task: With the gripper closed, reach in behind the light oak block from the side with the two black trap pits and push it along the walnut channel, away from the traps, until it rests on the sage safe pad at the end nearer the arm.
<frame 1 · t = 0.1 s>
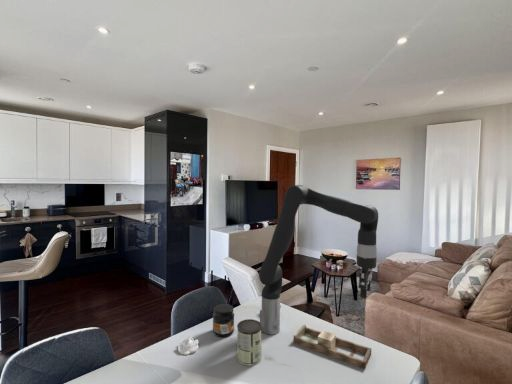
hand: (365, 294, 112), 29 cm above the table, tool pointing down, fingers open, 8 cm apart
coffee can: (249, 358, 116), on the table
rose: (188, 349, 122), on the table
die: (272, 313, 156), on the table
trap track: (330, 351, 121), on the table
oak block: (326, 346, 122), point 1 cm above the table, touching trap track
supplement container: (223, 332, 136), on the table
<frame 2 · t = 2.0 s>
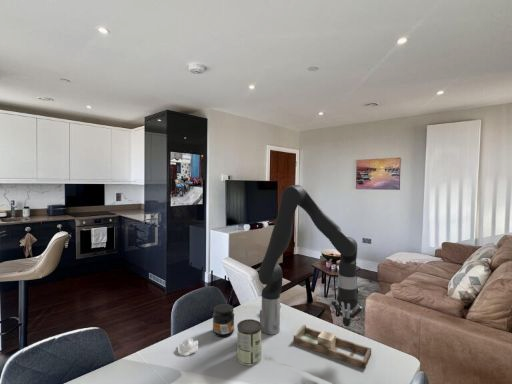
hand: (346, 325, 117), 14 cm above the table, tool pointing down, fingers closed
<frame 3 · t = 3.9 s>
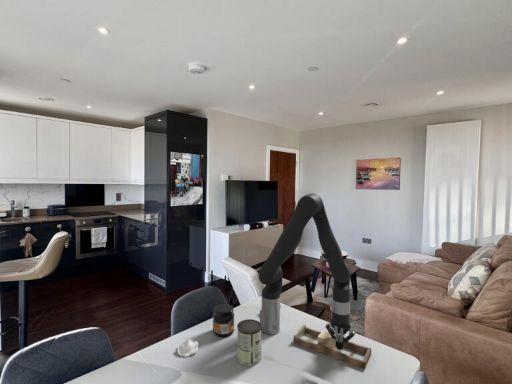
hand: (339, 349, 119), 2 cm above the table, tool pointing down, fingers closed
oak block: (326, 346, 122), point 1 cm above the table, touching gripper, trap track
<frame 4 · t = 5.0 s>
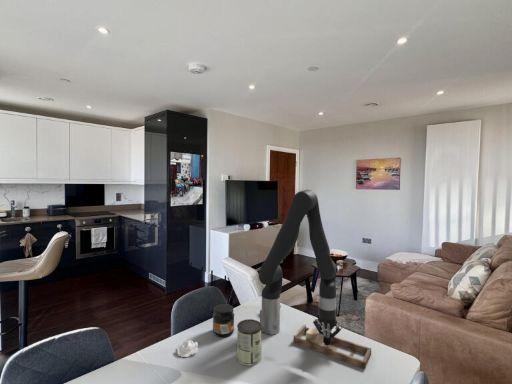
hand: (327, 344, 122), 3 cm above the table, tool pointing down, fingers closed
oak block: (314, 342, 125), point 2 cm above the table, touching gripper
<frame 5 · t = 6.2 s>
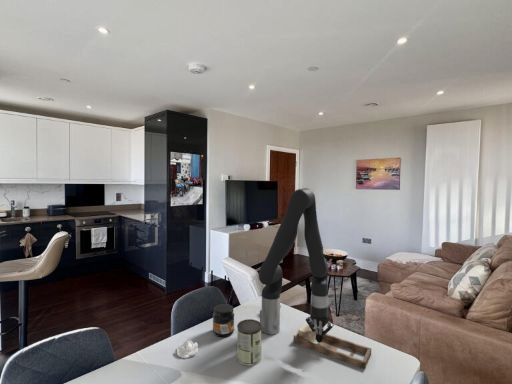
hand: (319, 341, 124), 3 cm above the table, tool pointing down, fingers closed
oak block: (307, 339, 127), point 1 cm above the table, touching gripper, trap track
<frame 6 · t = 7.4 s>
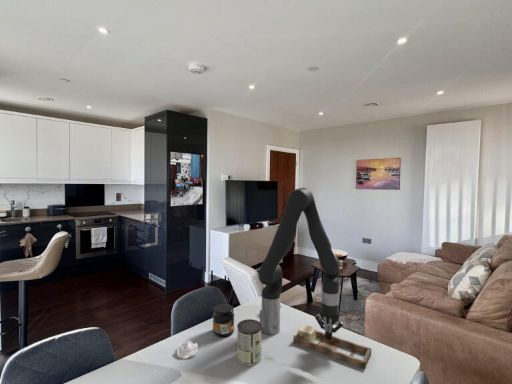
hand: (328, 339, 122), 5 cm above the table, tool pointing down, fingers closed
oak block: (307, 339, 127), point 1 cm above the table, touching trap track
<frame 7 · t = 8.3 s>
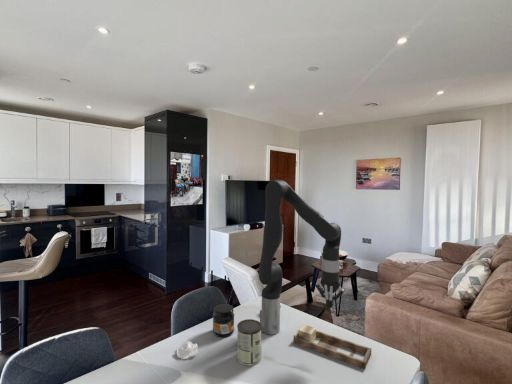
hand: (329, 307, 121), 19 cm above the table, tool pointing down, fingers closed
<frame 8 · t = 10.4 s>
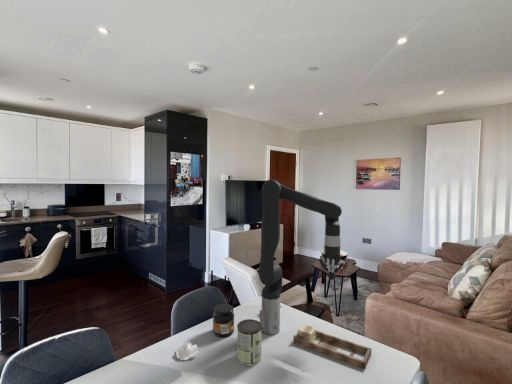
hand: (331, 279, 134), 27 cm above the table, tool pointing down, fingers closed
at the end: oak block 1.2 cm from the target spot, point 1.5 cm above the table; oak block tilted 0° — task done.
